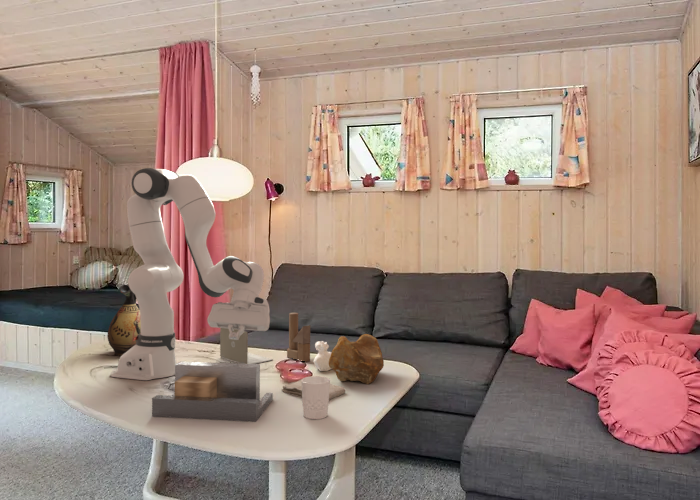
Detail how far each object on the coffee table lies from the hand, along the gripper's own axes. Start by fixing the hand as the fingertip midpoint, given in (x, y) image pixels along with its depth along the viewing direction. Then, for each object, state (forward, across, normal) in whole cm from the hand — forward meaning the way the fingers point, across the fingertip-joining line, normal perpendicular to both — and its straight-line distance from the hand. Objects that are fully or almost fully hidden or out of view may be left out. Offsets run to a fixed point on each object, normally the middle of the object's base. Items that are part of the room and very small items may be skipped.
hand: (233, 338), depth 176 cm
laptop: (-16, -6, +40) cm, 43 cm away
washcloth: (+12, +27, +11) cm, 31 cm away
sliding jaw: (+23, +1, 0) cm, 23 cm away
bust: (-10, +26, +31) cm, 42 cm away
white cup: (+26, +31, -4) cm, 40 cm away
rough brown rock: (-2, +41, +22) cm, 47 cm away
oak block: (+27, -3, -4) cm, 28 cm away
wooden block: (-18, +14, +41) cm, 47 cm away
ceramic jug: (-16, -56, +43) cm, 72 cm away
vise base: (+25, +1, -2) cm, 25 cm away
